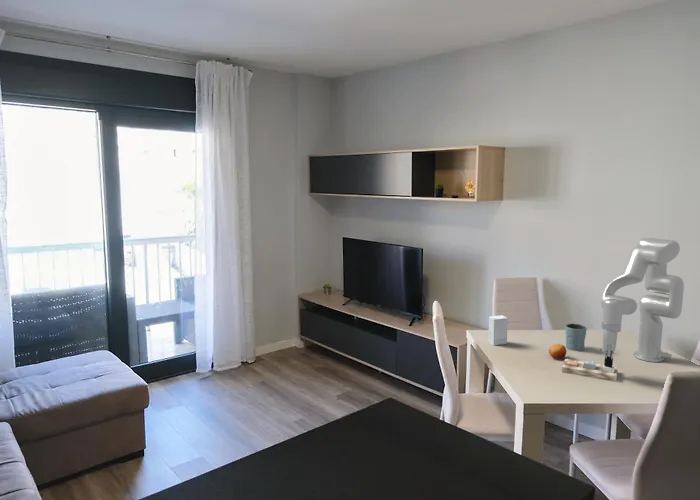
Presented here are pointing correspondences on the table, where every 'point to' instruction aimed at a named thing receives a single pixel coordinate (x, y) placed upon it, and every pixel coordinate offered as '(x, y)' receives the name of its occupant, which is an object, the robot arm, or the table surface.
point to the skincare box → (498, 330)
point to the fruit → (557, 351)
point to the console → (589, 371)
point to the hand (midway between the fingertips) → (608, 366)
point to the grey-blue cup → (575, 336)
